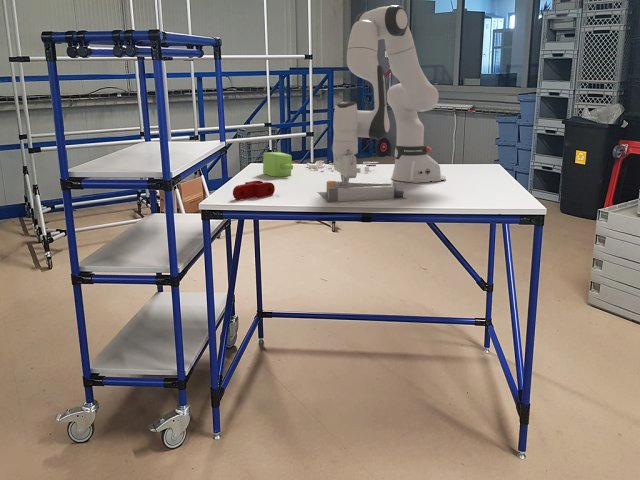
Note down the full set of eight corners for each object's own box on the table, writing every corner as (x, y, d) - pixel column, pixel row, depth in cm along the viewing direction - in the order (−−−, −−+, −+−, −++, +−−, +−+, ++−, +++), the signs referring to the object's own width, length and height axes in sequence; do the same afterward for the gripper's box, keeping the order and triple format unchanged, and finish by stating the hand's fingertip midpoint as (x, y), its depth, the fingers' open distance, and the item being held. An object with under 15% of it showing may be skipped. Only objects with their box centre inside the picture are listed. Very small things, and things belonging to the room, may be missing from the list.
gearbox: (299, 177, 251) (300, 156, 249) (279, 179, 246) (280, 156, 243) (279, 171, 266) (279, 150, 263) (259, 172, 260) (260, 151, 258)
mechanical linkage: (261, 192, 219) (261, 179, 217) (274, 195, 214) (274, 181, 213) (228, 199, 207) (228, 185, 206) (241, 202, 203) (241, 188, 201)
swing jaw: (391, 194, 208) (391, 182, 207) (390, 195, 206) (391, 183, 204) (327, 192, 212) (327, 180, 211) (326, 193, 209) (326, 182, 208)
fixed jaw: (401, 195, 207) (401, 181, 206) (406, 198, 202) (406, 184, 201) (325, 198, 202) (325, 184, 200) (329, 202, 197) (329, 187, 195)
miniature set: (380, 167, 270) (376, 176, 260) (307, 169, 279) (301, 177, 268) (379, 154, 268) (375, 162, 257) (306, 156, 277) (299, 164, 266)
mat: (390, 191, 218) (390, 189, 218) (406, 201, 202) (407, 198, 201) (317, 194, 213) (317, 192, 213) (328, 205, 196) (328, 202, 196)
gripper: (361, 151, 199) (360, 191, 202) (347, 144, 218) (346, 181, 222) (343, 152, 197) (343, 192, 201) (330, 145, 217) (330, 181, 221)
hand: (344, 186), depth 212 cm, fingers closed
